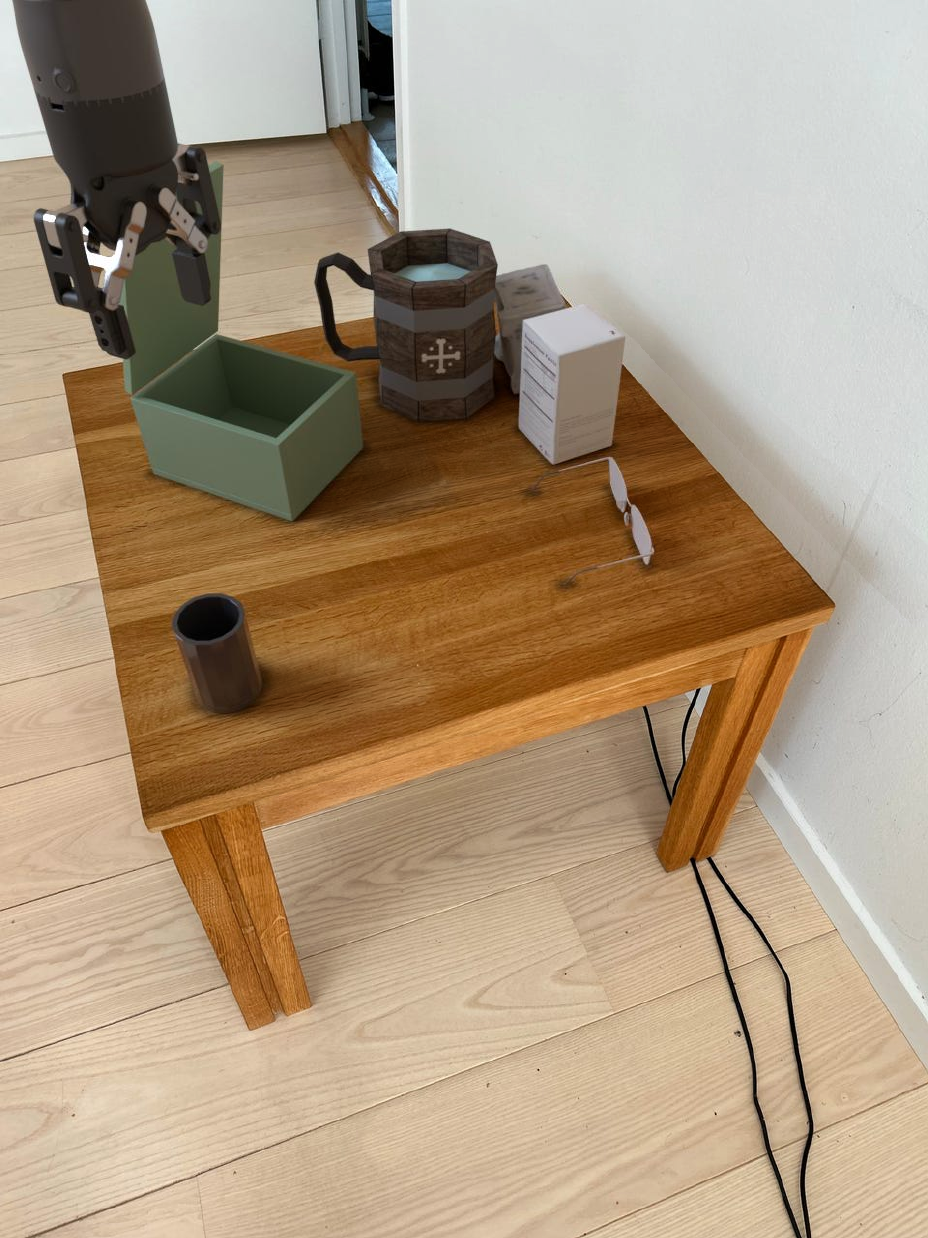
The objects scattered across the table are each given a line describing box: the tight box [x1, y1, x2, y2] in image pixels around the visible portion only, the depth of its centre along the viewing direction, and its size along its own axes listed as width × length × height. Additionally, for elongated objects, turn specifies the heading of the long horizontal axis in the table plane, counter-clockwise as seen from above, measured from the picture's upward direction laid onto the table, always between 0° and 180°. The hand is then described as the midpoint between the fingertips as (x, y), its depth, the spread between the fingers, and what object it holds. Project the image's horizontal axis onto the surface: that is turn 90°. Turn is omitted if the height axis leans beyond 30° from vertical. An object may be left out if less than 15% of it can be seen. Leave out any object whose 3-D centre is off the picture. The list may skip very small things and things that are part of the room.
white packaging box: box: [518, 303, 626, 466], centre depth 92 cm, size 7×7×13 cm
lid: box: [119, 160, 224, 396], centre depth 83 cm, size 18×13×5 cm
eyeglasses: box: [530, 456, 655, 586], centre depth 85 cm, size 14×8×4 cm, turn 10°
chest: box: [129, 333, 364, 522], centre depth 91 cm, size 17×13×9 cm
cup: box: [171, 592, 263, 714], centre depth 70 cm, size 5×5×8 cm
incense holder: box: [494, 264, 567, 395], centre depth 101 cm, size 10×8×10 cm
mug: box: [313, 227, 499, 423], centre depth 98 cm, size 20×14×15 cm
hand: (160, 327), depth 66 cm, fingers open, 8 cm apart
